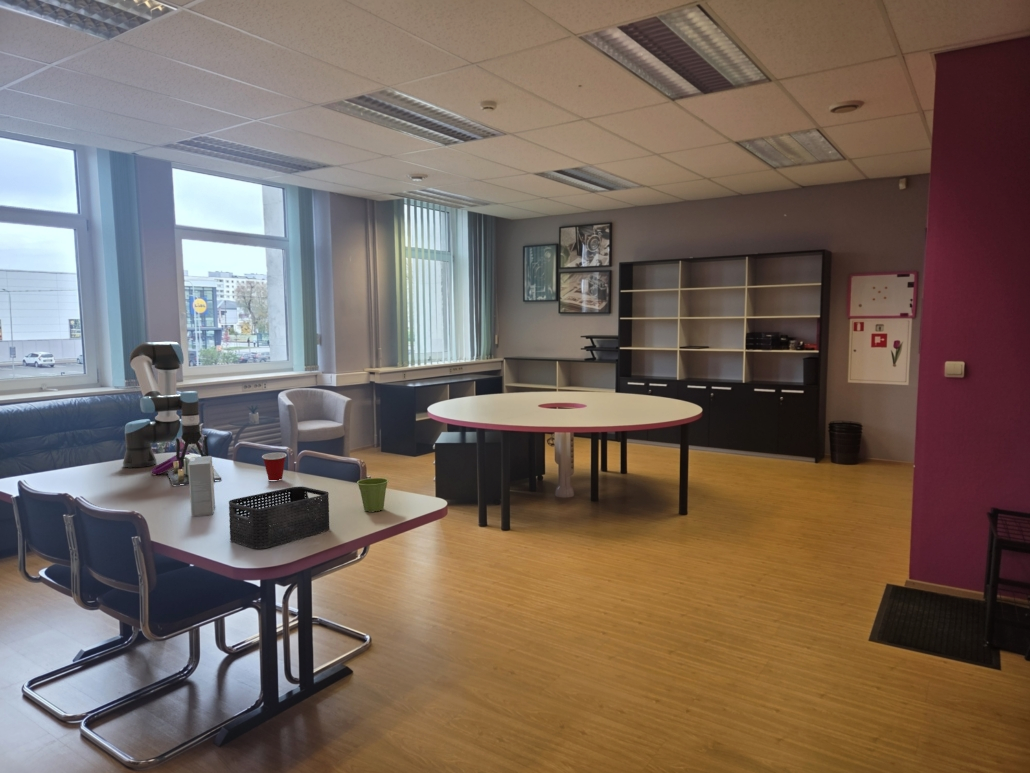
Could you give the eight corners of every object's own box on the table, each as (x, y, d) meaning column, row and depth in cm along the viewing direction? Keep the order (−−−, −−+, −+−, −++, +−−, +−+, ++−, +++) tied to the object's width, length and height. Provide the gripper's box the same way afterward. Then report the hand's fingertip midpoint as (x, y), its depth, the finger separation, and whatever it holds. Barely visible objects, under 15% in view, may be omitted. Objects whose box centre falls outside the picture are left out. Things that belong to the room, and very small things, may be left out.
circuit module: (182, 471, 320) (181, 455, 319) (195, 469, 324) (195, 453, 323) (190, 477, 307) (189, 460, 307) (204, 475, 311) (203, 458, 310)
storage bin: (300, 520, 242) (299, 484, 241) (334, 529, 230) (332, 491, 229) (225, 541, 219) (223, 501, 218) (259, 552, 207) (257, 510, 206)
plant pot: (389, 505, 261) (388, 476, 260) (389, 513, 250) (389, 483, 249) (358, 507, 259) (357, 478, 258) (357, 515, 247) (356, 485, 246)
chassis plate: (167, 474, 323) (166, 461, 322) (212, 469, 333) (211, 456, 333) (173, 486, 298) (172, 472, 297) (221, 480, 308) (220, 466, 308)
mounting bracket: (162, 487, 322) (198, 466, 331) (153, 473, 319) (189, 452, 329) (158, 483, 330) (193, 463, 339) (149, 469, 327) (184, 450, 336)
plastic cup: (261, 483, 301) (260, 457, 300) (264, 478, 311) (263, 453, 310) (286, 482, 303) (285, 456, 302) (288, 477, 314) (287, 452, 313)
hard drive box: (193, 507, 262) (191, 457, 260) (215, 505, 264) (212, 455, 263) (190, 517, 247) (187, 464, 246) (213, 515, 250) (210, 462, 248)
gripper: (168, 426, 305) (171, 476, 307) (214, 423, 315) (216, 471, 317) (167, 425, 311) (169, 473, 313) (212, 421, 322) (214, 468, 324)
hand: (193, 472), depth 315 cm, fingers closed on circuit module, 6 cm apart
